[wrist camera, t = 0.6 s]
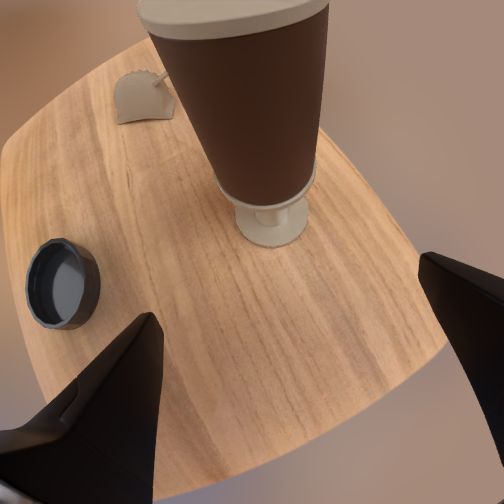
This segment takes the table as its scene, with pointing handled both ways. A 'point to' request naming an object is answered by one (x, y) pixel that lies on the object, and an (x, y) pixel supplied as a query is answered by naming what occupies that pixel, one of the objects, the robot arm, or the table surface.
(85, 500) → the robot arm
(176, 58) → the brown lidded canister
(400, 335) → the table surface
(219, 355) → the table surface
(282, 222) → the stand
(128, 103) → the beige curved piece
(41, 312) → the bowl
